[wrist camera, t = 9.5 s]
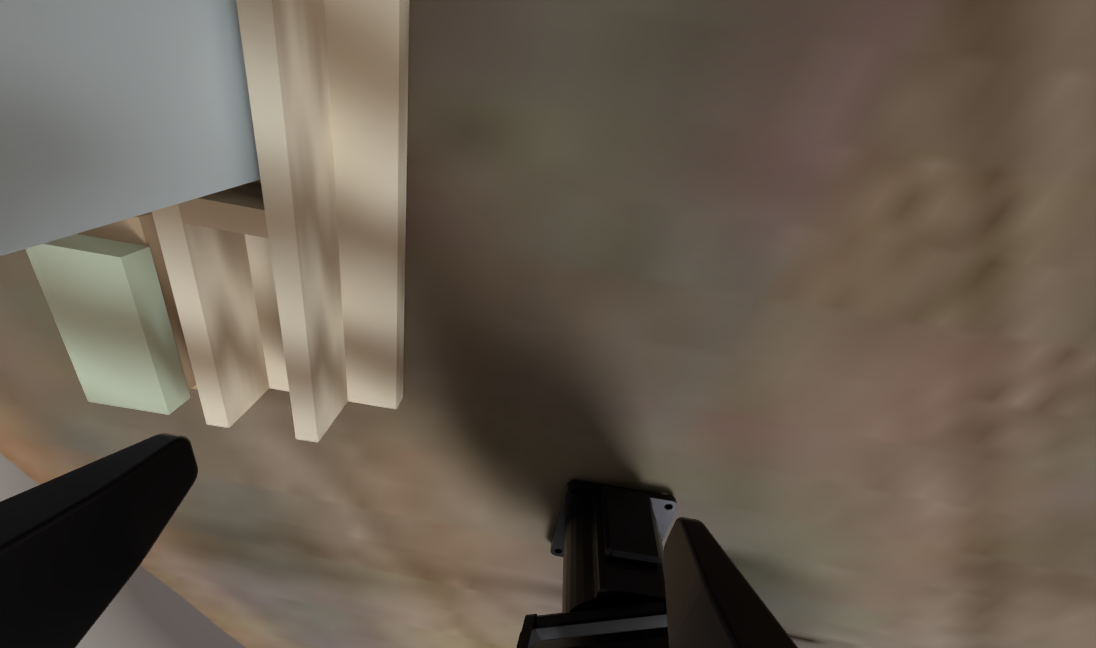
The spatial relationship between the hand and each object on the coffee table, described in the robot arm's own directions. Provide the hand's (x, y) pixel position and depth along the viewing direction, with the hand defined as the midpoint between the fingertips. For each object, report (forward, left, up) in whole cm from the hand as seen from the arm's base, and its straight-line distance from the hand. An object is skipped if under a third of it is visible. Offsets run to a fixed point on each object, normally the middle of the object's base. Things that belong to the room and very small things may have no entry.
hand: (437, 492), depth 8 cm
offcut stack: (-4, +15, -12) cm, 20 cm away
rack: (+1, +12, -13) cm, 18 cm away
